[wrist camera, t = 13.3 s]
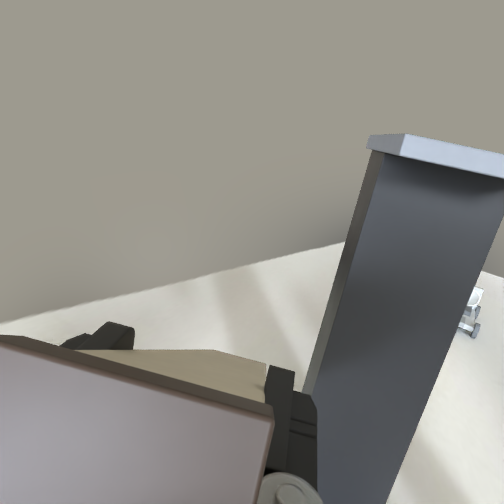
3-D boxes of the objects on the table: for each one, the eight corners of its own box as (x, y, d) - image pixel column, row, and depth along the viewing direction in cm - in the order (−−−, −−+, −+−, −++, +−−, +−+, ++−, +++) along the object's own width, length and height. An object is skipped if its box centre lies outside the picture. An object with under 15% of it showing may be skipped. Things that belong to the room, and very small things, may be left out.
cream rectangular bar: (-156, 627, 5) (-35, 332, 5) (198, 394, 28) (211, 346, 29) (199, 759, 4) (276, 418, 5) (256, 410, 28) (268, 361, 28)
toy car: (494, 299, 73) (429, 277, 78) (474, 345, 76) (413, 321, 81) (492, 277, 89) (438, 260, 94) (475, 316, 92) (424, 297, 97)
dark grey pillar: (249, 607, 27) (394, 130, 18) (270, 461, 40) (362, 133, 30) (394, 655, 26) (630, 181, 17) (370, 491, 39) (498, 162, 29)
